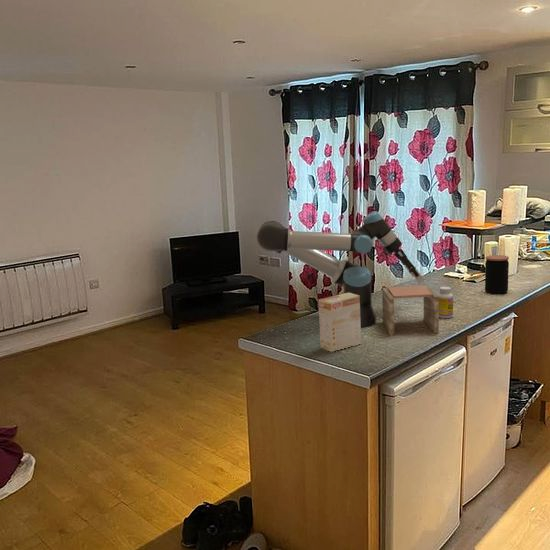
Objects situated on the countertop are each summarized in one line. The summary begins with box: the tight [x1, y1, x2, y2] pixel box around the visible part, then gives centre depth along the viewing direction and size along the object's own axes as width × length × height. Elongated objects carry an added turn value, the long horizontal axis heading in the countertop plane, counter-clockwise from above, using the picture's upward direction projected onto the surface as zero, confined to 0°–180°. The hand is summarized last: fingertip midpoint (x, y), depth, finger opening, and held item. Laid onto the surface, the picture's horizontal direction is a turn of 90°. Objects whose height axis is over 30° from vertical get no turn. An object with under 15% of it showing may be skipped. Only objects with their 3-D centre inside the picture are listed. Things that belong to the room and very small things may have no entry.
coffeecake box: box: [318, 293, 362, 351], centre depth 209 cm, size 15×7×20 cm, turn 123°
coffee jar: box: [484, 254, 510, 295], centre depth 274 cm, size 11×11×18 cm
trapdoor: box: [386, 285, 432, 299], centre depth 227 cm, size 15×16×1 cm
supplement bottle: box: [436, 286, 454, 319], centre depth 240 cm, size 7×7×13 cm
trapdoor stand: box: [381, 285, 440, 336], centre depth 228 cm, size 19×20×15 cm
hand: (418, 278), depth 249 cm, fingers open, 13 cm apart
